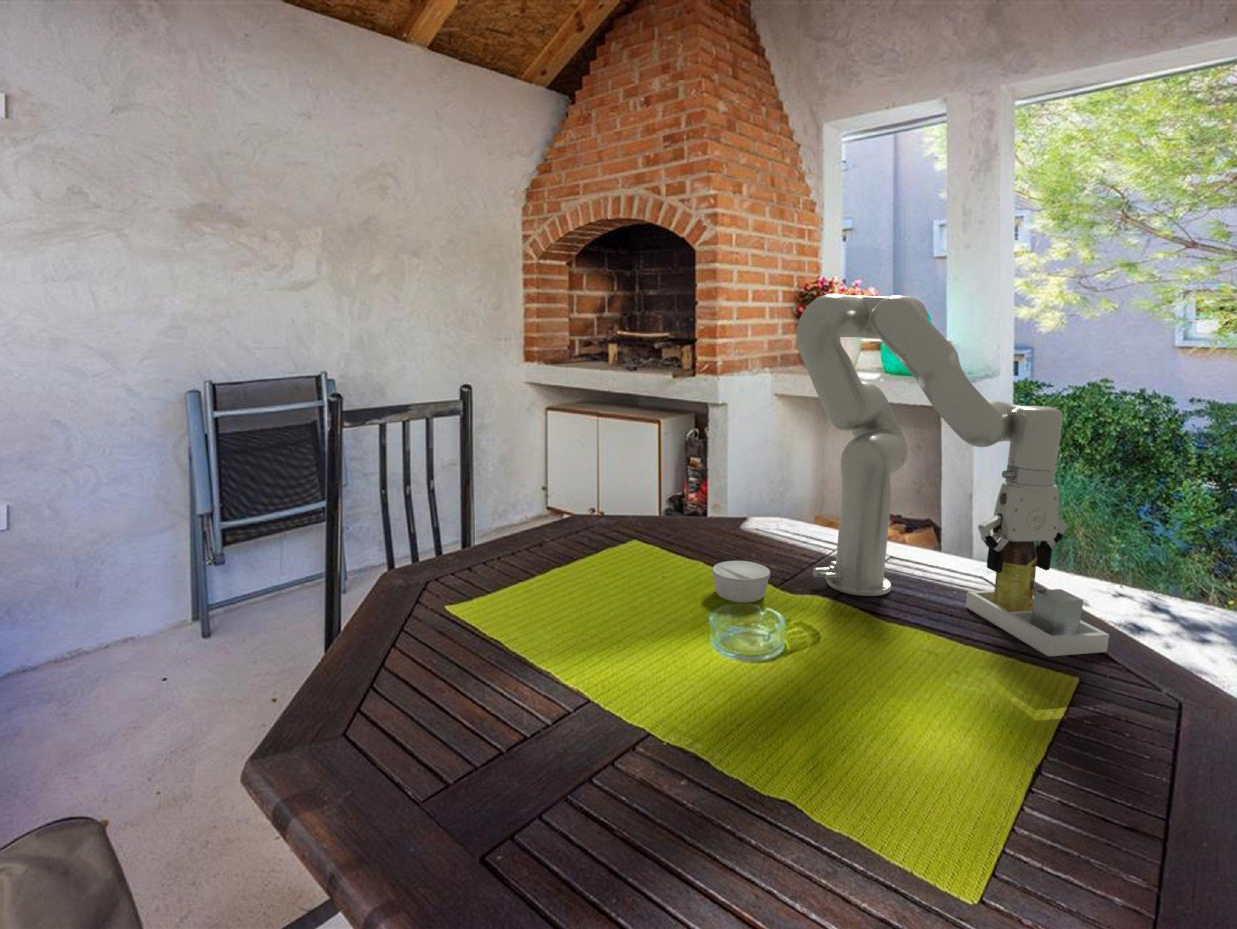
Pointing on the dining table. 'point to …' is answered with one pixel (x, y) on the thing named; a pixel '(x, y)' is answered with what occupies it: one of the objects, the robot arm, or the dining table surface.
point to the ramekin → (740, 580)
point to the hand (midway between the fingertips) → (1017, 569)
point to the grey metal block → (1056, 612)
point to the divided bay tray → (1033, 636)
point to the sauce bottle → (1016, 577)
